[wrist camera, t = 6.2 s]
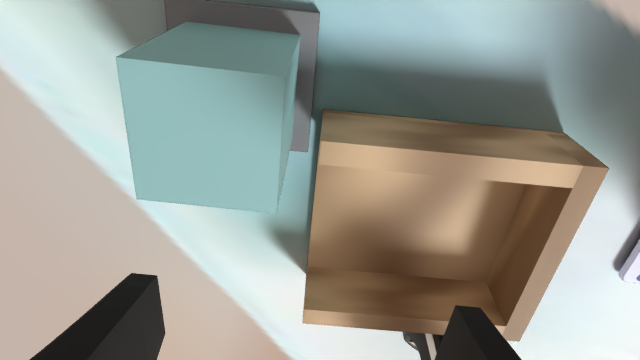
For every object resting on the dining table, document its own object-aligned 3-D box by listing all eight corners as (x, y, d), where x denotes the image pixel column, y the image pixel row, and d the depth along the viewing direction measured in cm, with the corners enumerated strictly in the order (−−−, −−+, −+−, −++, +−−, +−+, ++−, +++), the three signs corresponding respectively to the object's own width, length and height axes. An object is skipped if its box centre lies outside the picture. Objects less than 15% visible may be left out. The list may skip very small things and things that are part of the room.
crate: (564, 132, 18) (609, 168, 15) (495, 291, 23) (519, 341, 20) (322, 109, 18) (321, 140, 15) (306, 274, 23) (302, 323, 20)
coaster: (320, 12, 16) (319, 13, 15) (308, 148, 19) (307, 152, 18) (168, -4, 16) (164, -3, 15) (180, 136, 19) (177, 139, 18)
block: (300, 34, 16) (285, 76, 11) (292, 137, 18) (276, 213, 13) (186, 21, 16) (115, 57, 11) (192, 127, 18) (136, 199, 13)
